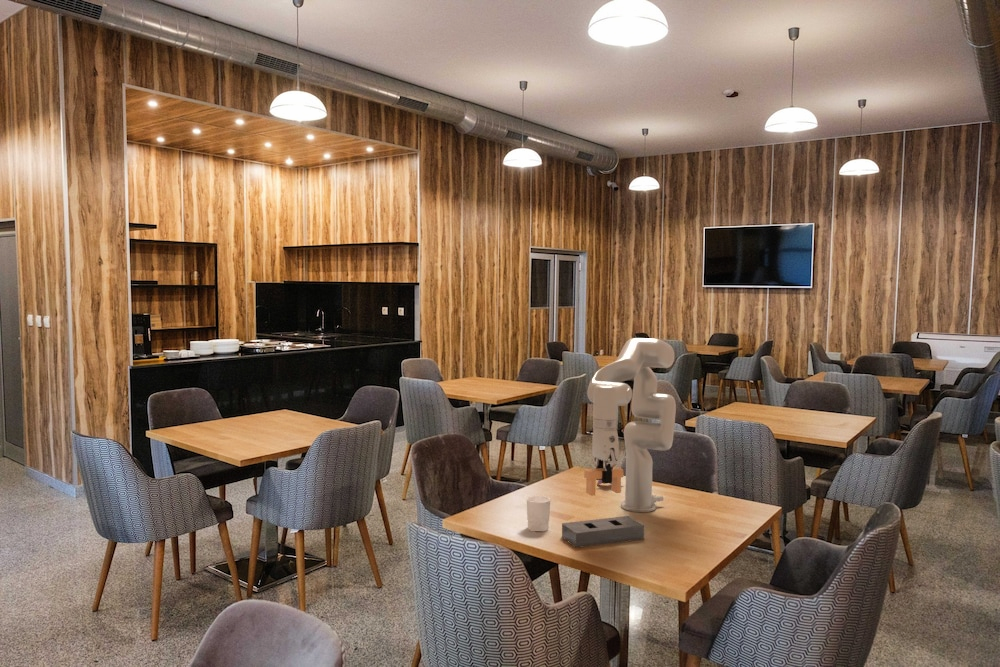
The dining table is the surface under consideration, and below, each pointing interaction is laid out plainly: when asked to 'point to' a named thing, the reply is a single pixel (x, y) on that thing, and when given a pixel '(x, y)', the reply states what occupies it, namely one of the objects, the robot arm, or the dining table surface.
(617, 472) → the orange arch block
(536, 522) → the white cup
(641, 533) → the grey slotted block
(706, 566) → the dining table surface
